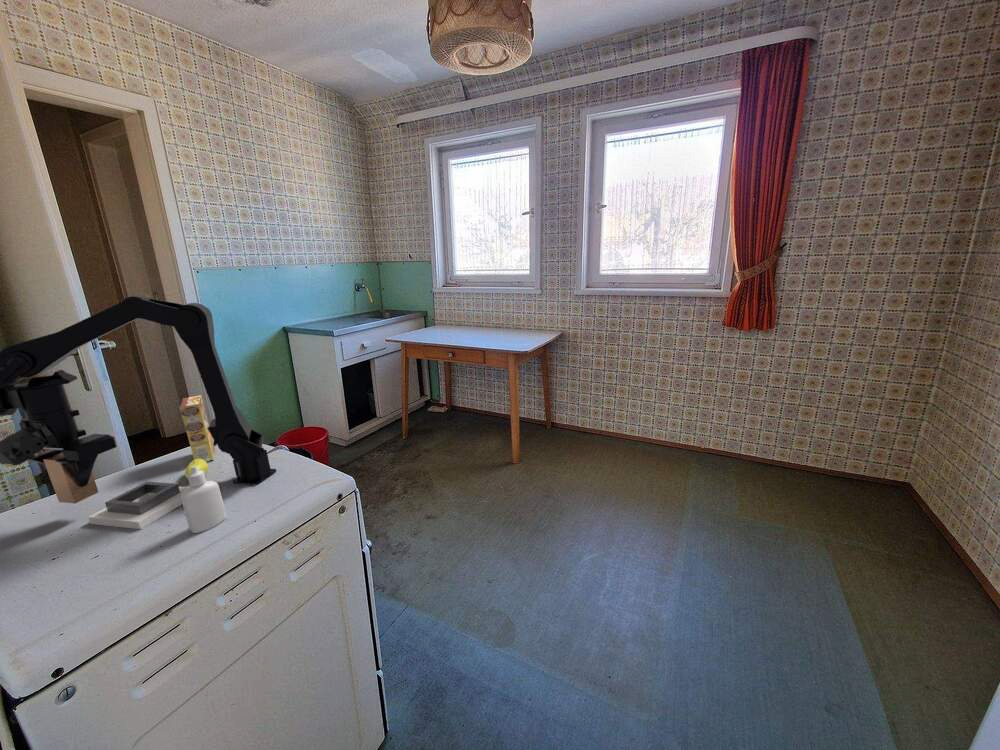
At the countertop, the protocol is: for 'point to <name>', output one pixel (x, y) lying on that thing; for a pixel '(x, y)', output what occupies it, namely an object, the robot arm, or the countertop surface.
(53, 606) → the countertop surface
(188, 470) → the yellow elongated oval piece
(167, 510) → the collar plate
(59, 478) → the wooden square prism
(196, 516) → the eye dropper bottle
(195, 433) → the candy box
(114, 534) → the countertop surface
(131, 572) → the countertop surface
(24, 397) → the robot arm
